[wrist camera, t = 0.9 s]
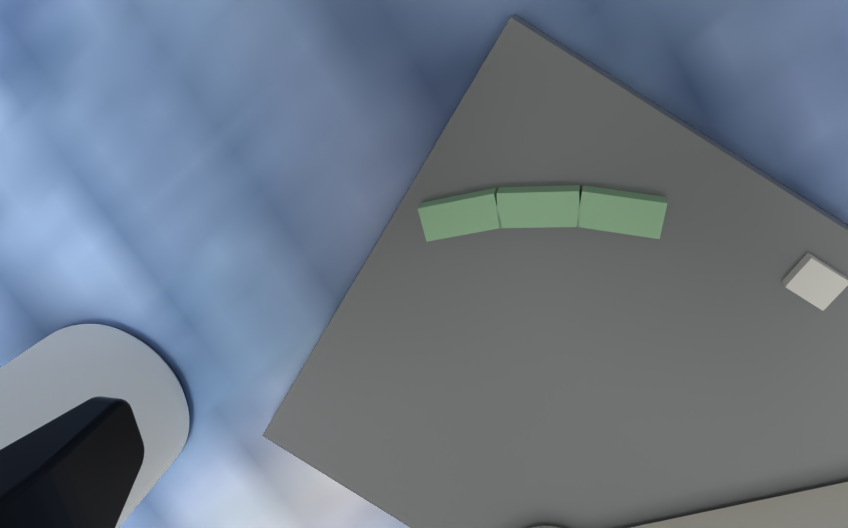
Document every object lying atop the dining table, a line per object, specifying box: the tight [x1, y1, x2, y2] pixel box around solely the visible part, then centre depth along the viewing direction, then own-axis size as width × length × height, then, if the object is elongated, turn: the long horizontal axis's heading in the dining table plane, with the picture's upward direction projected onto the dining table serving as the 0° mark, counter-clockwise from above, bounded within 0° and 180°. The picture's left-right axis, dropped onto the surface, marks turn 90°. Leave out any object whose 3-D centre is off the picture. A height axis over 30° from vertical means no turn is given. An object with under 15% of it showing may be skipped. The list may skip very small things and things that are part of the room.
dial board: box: [262, 15, 848, 528], centre depth 23 cm, size 16×21×2 cm
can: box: [0, 324, 189, 528], centre depth 23 cm, size 6×6×12 cm
